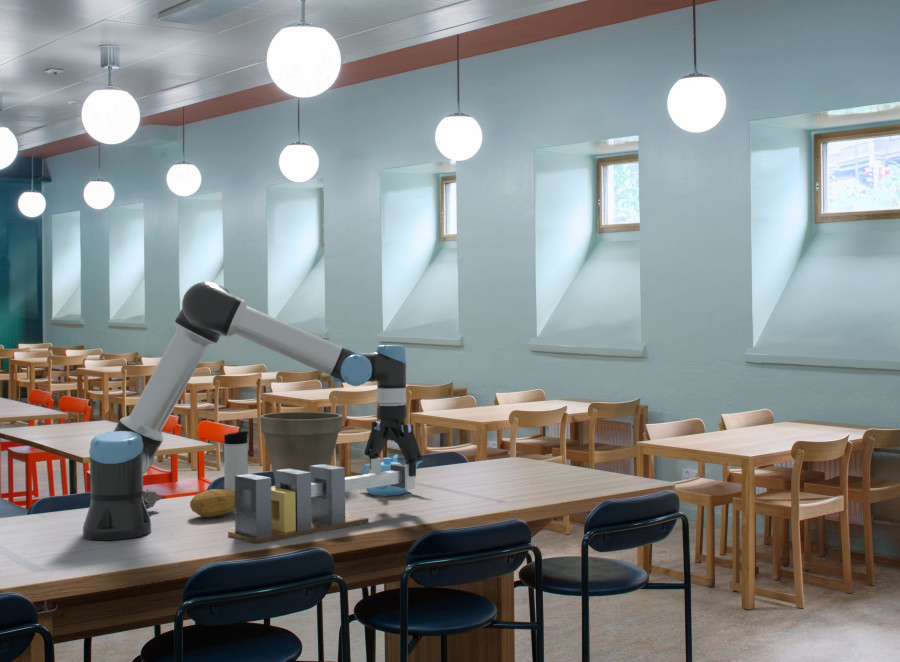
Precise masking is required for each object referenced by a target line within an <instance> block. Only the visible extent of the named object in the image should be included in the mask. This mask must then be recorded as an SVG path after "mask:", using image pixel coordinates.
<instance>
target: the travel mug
mask: <svg viewBox="0 0 900 662" xmlns="http://www.w3.org/2000/svg"><path fill="white" fill-rule="evenodd" d="M248 434H249V430H244V431H238V432H231V433H227V434H224V435H223V436H224V439H223V440H224V441H223V443H224V444H223V445H224V446H223V452H224V453H223V455H224V456H223V458H224V460H223V461H224V462H223V466H224V467H223V468H224V469H223V470H224V473H223V474H224V476H223V477H224V479H223V480H224V489H229V490H232V491H234V492H235V476H236V475H243V474H249V468H248V466H249V465H248V464H249V462H248V461H249V459H248V458H249V457H248V456H249V455H248V451H249V450H248V447H249V446H248V443H249V442H248Z"/></svg>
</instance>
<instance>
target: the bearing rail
mask: <svg viewBox="0 0 900 662" xmlns="http://www.w3.org/2000/svg"><path fill="white" fill-rule="evenodd" d="M309 468H310V472H306V471H300V470H295V469H282V470H275V477H274V487H276V488H281V489H285V490H289V485H291V488H292V491H295V507H296V530H295V531H290V532H282V531H278V530H274V529H272V513H271V488H272V477H268V476H264V475H257V474H254V473H248V474H243V475H236V476H235V509H234V528H235V529H234V530H231V531H230V530H229V531H227V536H228V537H231V538H234V539H236V540H237V539H238V540H241V541H243V542H244V541H245V542H248V543H251V544H255V545H258V544H264V543H269V542H273V541H279V540H284V539H289V538H290V539H291V538H295V537H300V536H304V535H305V536H306V535H310V534H314V533H321V532H325V531H326V532H327V531H331V530H337V529H342V528H346V527H351V526H358V525H363V524H367V523H369V518H367V517H363V516H359V515H355V514H349V513H346V492H345V477H346V470H345V469H346V467H343V466H338V465H337V466H336V465H325V464H320V465H312V466H309ZM323 480H326V495H322V496H316V497H311V482H316V481H323Z"/></svg>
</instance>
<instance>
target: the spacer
mask: <svg viewBox="0 0 900 662" xmlns="http://www.w3.org/2000/svg"><path fill="white" fill-rule="evenodd" d="M271 513H272V529H274V530H278V531H282V532H290V531H295V530H296V507H295V491H290V490H285V489H281V488H276V487H275V486H271Z"/></svg>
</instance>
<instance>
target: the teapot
mask: <svg viewBox="0 0 900 662" xmlns="http://www.w3.org/2000/svg"><path fill="white" fill-rule="evenodd" d="M398 458H399V455H398V454H397V453H396V454H394V455H393V457H383V458H382V461H381V472H385V471H391V465H392V464H400V465H402V463H400V462H398ZM422 462H423V460H422V461H419V462H417V463H416V470H417V468H418V466H419V464H420V463H422ZM368 467H370V463H366V464H365V465H363V467H362V469H361V475H364V474H371V469H370V468H369V471H368V473H366V469H367V468H368ZM415 478H416V476H415ZM365 490H366V491H367V493H369V494H370V495H373V496H380V497H383V496H385V497H386V496H387V497H388V496H399V495H400V494H401V495H403V494H406V493H407V492H408V490H405V488H400V487H394V486H391V485H385V486H379V487H372V488H366V489H365ZM401 495H400V496H401Z"/></svg>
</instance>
